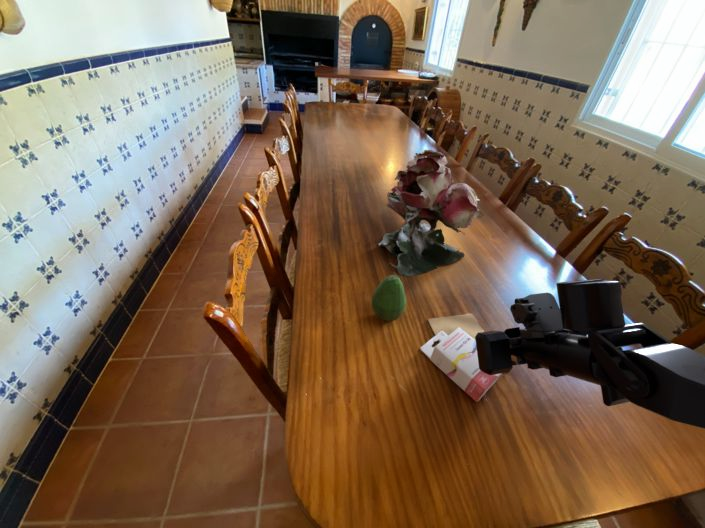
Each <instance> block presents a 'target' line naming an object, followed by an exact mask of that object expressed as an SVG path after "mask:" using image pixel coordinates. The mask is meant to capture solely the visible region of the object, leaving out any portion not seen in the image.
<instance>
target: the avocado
mask: <svg viewBox="0 0 705 528" xmlns="http://www.w3.org/2000/svg"><path fill="white" fill-rule="evenodd" d="M406 303H407V296H406V291H405V288H404V284H403V281H402V280H401V279H400V277H399V276H397V275H396V274H389V275H387V276H385V278H384V279H383V280H382V281H381V282H380V283H379V284H378V286H377V287H376V288H375V289H374V291H373V294H372V298H371V307H372V310H373V312H374V313H375V314H376V315H377V317H379V318H380V319H381V320H383V321H385V322H386V321H387V322H392V321H396V320H398V319H399V318H400V317H401V316H402V315H403V313H404V312H405V310H406V305H407V304H406Z"/></svg>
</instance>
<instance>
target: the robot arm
mask: <svg viewBox="0 0 705 528" xmlns="http://www.w3.org/2000/svg"><path fill="white" fill-rule="evenodd" d="M555 285H556V292H557V293H556V294H557V298H558V299H557V300H558V302H557V300H556V297H555V296H554V295H553V294H552V293H551V292H541V293H531V294H528V295H527V296H524V297H517V298H515V299H514V304H511V305H510V308H509V310H510V313H511V315H512V318H513V320H514V322H515V324H522V325H523V327H524V328H522V329H521V327H520V326H517V327H510V328H506V329H504V331H502V330H488V331H484V332H480V333H477V335H476V336H475V339H476V347H477V355H478V363H479V369H480V370H481V371H482V372H484V373H486V374H488V375H495V374H501V373H502V374H507V373H506V372H508V373H510V372H511V370H513V368H514V367H513V366H522V365H527V366H526V367H527V369H530V370H533V371H534V370H538V369H539V370H540V369H545V370H548V371H549V376H550V377H554V378H559V377H565V376H567V377H571V378H573V379H574V378H575V379H577V380H581V381H584V382H587V383H591V384H593V385H594V384H595V385H596V386H600V390H601V396H602V402H603V404H604V405H605V406H606V407H612V406H617V405H621V404H627V403H631V404H633V405H635V406H637V407H639V408H641V409H644V410H647V411H649V412H652V413H654V414H656V415H659V416H661V417H663V418H666V419H668V420H670V421H673V422H676V423H681V424H685V425H689V426H693V427H696V428H701V429H705V355H703V354H702V353H700V352H698V351H696V350H693V349H692V348H689V347H687V346H685V345H681V344H676V343H674V342H672V341H670V340H669V339H667V338H666V337H665V336H664V335H662V334H661V333H658V332H657V331H656V330H654V329H653V328H651V327H649V326H648V325H647V324H645V323H643V322H639V323H631V324H630V323H626V320H625V313H624V309H623V301H622V296H623V295H622V293H623V289H622V285H621V282H620V281H618V280H605V279H603V278H600V279H599V278H598V279H581V280H568V281H560V282H556V284H555ZM637 345H640V346H641V347H636V348H631V349H625V350H624V349H623V348H625V347H629V346H630V347H631V346H637Z"/></svg>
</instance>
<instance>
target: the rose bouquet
mask: <svg viewBox="0 0 705 528" xmlns="http://www.w3.org/2000/svg"><path fill="white" fill-rule="evenodd" d="M414 154H415V155H414V156H413V159H411V160H409V161H408V162H407V165H406V170H404V169H403V170H402V169H400V170H398V171H397V172H396V175H395V178H394V181H396V180H397V182H396V184H397V185H394V186H393V187H392V188H391V189H390V192H389V191H388V193H387V194H386V197H387V204H385V206H386V207H387V208H389V209H391V210H392V211H394V212H395V213H396V214H397V215H398V216H400V218H402V219H403V220H404V222H403V224H402V225H401V227H399V228H398V229H397V230H395V231H392V232H390V233H384V234H383V237H382V240H381V241H380V242H379V243H377V245H378V246H379V247H385V248H386V250H387V251H388V252H389V253H390V254H392V256H393V257H394V258H395V259H397V265H395V264H394V263H391V262H389V264H390V265H391V266H392V267H393V268H394V269H395V271H396V272H397V273H398V274H399V276H406V277H412V276H413V277H414V276H418V275H422V274H427V273H429V272H432V271H433V270H436V269H438V267H441V266H447V265H450V264H454V263H456V262H457V261H458V260H460V259H462V258H465V253H464V252H462V251H460V250H461V248H459V249H458V248H457V247H454V246H452V245H450V244H447V243H445V236H444V234H443V230H442V228H437V226H438V225H437V224H438V222H440V223H442V224H443V225H444V226H445V227H447V228H448V229H451V230H453V231H455V232H456V233H458V234H459V233H462V235H465V232H463V231H461V230H459V229H467V228H468V227H469V226H471V225H472V223H473V219H475V220H477V219H481V218H483V217H484V213H483V212H482V210H480V209H478V202H479V201H481V199H479V197H478V196H477V193H476V192H475V189H473V188H472V187H471V185H468V184H467V183H463V182H458V183H456V182H455V179H454V178H453V177H451V176H452V172H451V171H452V170H451V168H449V167H447V165H448V160H447V157H446V156H445V154H443V153H442V152H441V151H436V150H433V149H423V151H421V152H415V153H414ZM454 182H455V183H454ZM423 221H426V222H423ZM436 228H437V229H436ZM400 251H401V253H398V255H397V253H396V252H400Z"/></svg>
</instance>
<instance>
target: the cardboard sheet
mask: <svg viewBox="0 0 705 528" xmlns="http://www.w3.org/2000/svg"><path fill="white" fill-rule="evenodd" d="M426 319H427V323H428V325H429V327H430V329H431V331H432V333H433V336H435V335H437V334H438V333H439V332H440V331H443V332H445V333H446V334H447V335H448V336H449V335H450V334H451V333H452V332H453V331H454V330H456V329H457V328H458V327H459V328H461V329H462V330H463V331H464V332H466V333H467V334H468V335H469V336H471V337H472V338H473V339H475V336H476V335H477V333H480V332H485V331H484V329H483V328H482V326H481V324H480V323H479V322H478V320H477V319H476V318H475V316H474V314H473V313H465V314H456V315H455V314H454V315H448V316H441V317H431V318H426ZM475 340H476V339H475ZM440 342H441V341H440V340H438V341H437V344H439V343H440ZM507 373H509V372H506V373H505V374H507Z"/></svg>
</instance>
